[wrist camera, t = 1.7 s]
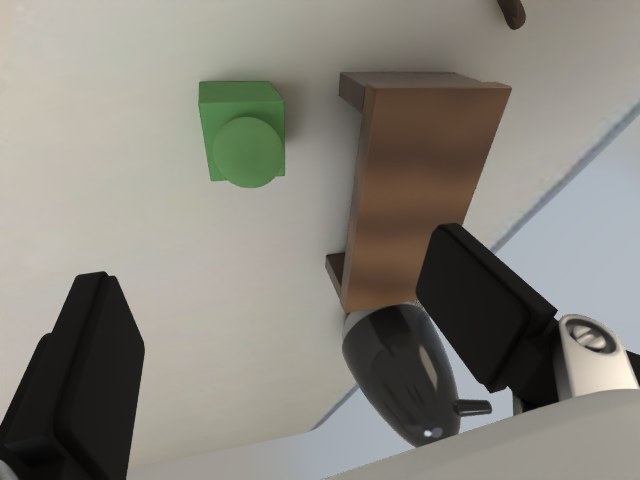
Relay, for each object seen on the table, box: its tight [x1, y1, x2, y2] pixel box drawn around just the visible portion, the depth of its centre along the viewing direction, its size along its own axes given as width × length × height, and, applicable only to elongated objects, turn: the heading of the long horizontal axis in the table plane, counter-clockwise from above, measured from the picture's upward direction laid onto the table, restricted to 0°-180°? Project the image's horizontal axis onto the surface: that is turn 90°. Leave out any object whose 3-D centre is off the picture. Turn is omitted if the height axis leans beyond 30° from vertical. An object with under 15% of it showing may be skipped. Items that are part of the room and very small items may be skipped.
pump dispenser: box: [342, 302, 492, 448], centre depth 33 cm, size 10×10×15 cm
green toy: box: [198, 82, 285, 188], centre depth 19 cm, size 4×4×8 cm
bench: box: [325, 72, 512, 314], centre depth 26 cm, size 18×9×6 cm, turn 177°
